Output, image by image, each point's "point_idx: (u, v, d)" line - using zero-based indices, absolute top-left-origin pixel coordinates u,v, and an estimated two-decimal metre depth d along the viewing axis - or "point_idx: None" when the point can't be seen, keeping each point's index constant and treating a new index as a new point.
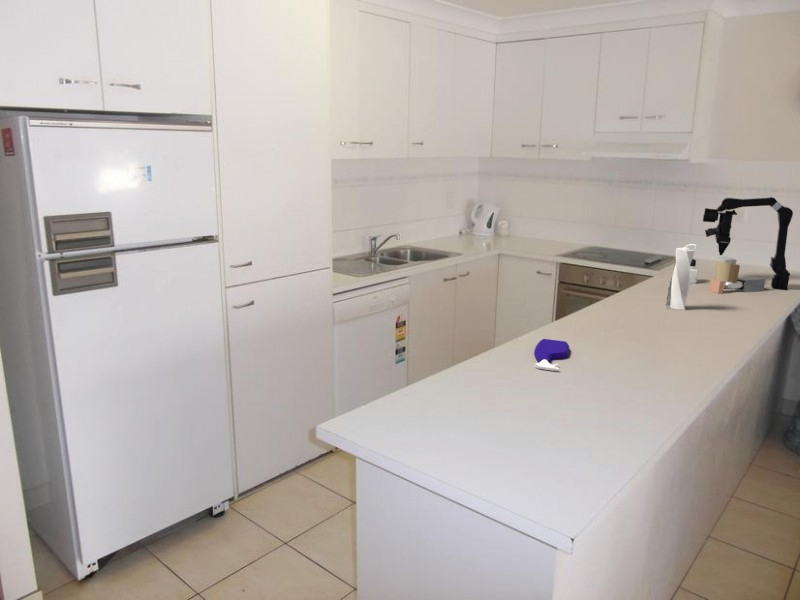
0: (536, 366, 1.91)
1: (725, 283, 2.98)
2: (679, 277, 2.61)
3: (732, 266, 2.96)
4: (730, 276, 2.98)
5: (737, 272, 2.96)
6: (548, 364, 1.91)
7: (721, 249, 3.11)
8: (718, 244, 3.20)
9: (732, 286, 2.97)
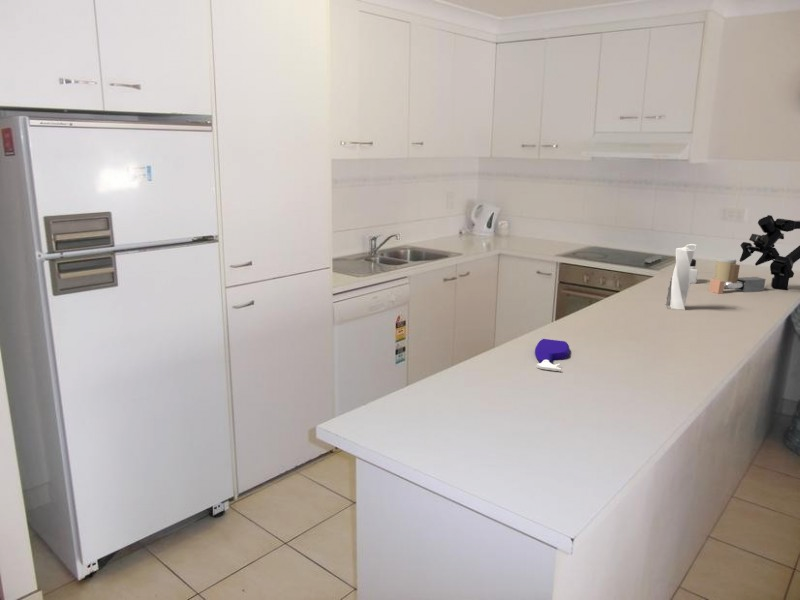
0: (538, 366, 1.91)
1: (725, 283, 2.98)
2: (679, 277, 2.61)
3: (732, 266, 2.96)
4: (730, 276, 2.98)
5: (737, 272, 2.96)
6: (550, 364, 1.91)
7: (761, 260, 2.94)
8: (744, 253, 3.03)
9: (732, 286, 2.97)
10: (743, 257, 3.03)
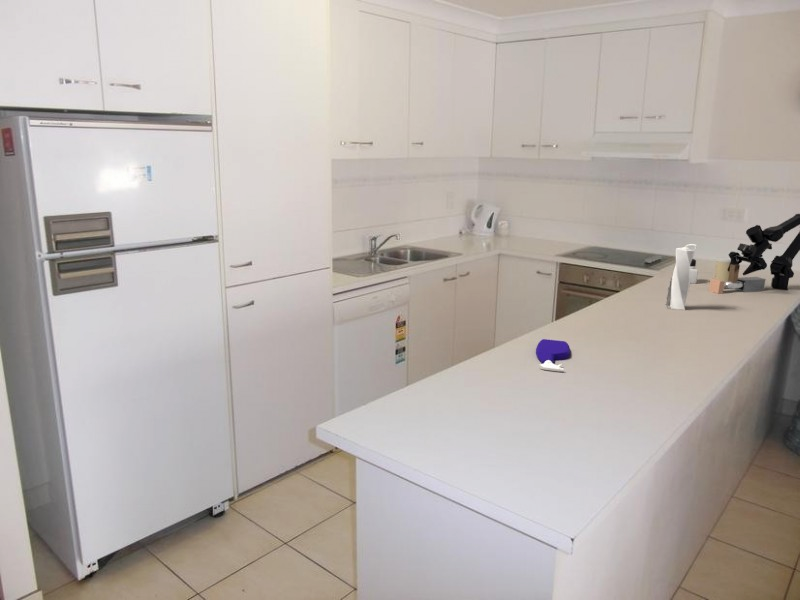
0: (541, 367, 1.90)
1: (725, 283, 2.98)
2: (679, 277, 2.61)
3: (732, 266, 2.96)
4: (730, 276, 2.98)
5: (737, 272, 2.96)
6: (553, 365, 1.90)
7: (749, 270, 2.93)
8: (732, 263, 3.02)
9: (732, 286, 2.97)
10: None
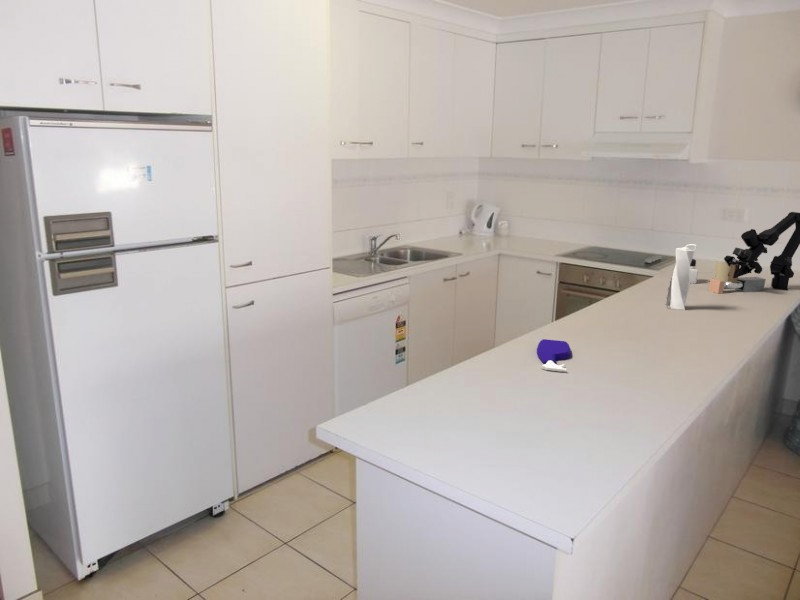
0: (543, 367, 1.90)
1: (725, 283, 2.98)
2: (679, 277, 2.61)
3: (732, 266, 2.96)
4: (730, 276, 2.98)
5: None
6: (555, 365, 1.90)
7: (739, 273, 2.95)
8: None
9: (732, 286, 2.97)
10: None
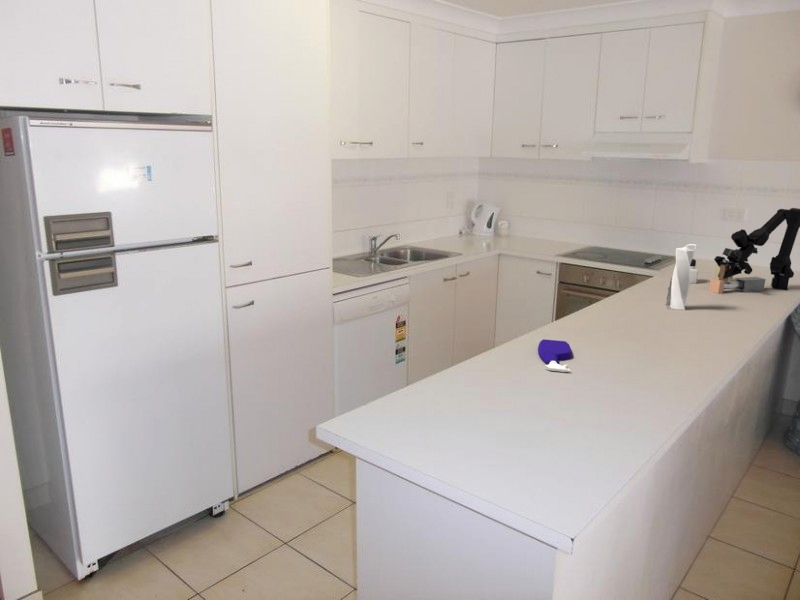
0: (547, 368, 1.90)
1: None
2: (679, 277, 2.61)
3: (722, 266, 2.95)
4: (720, 276, 2.96)
5: None
6: (558, 365, 1.90)
7: (729, 274, 2.94)
8: None
9: None
10: None
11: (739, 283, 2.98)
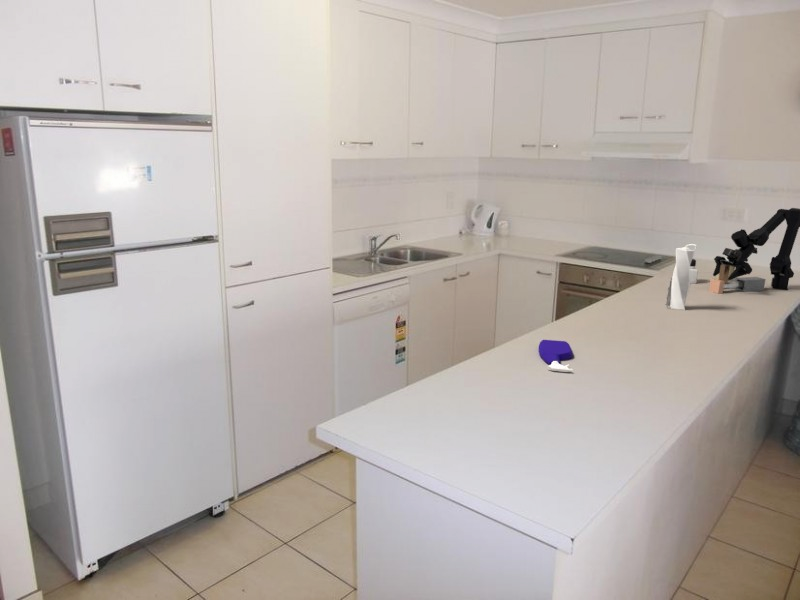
0: (549, 368, 1.89)
1: None
2: (679, 277, 2.61)
3: (722, 266, 2.95)
4: (720, 276, 2.96)
5: (727, 273, 2.95)
6: (561, 366, 1.90)
7: (734, 275, 2.91)
8: (717, 267, 3.00)
9: None
10: (716, 271, 3.00)
11: (739, 283, 2.98)
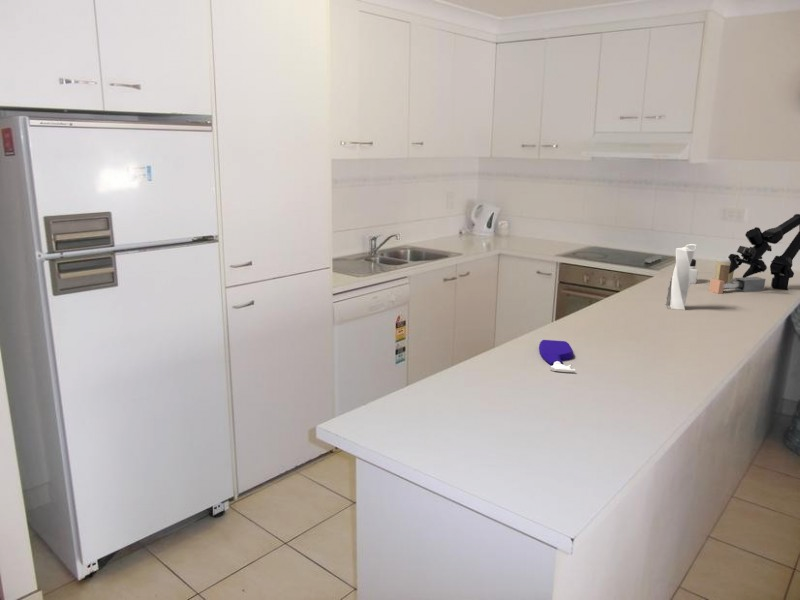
0: (552, 369, 1.89)
1: None
2: (679, 277, 2.61)
3: (722, 266, 2.95)
4: (720, 276, 2.96)
5: (727, 273, 2.95)
6: (563, 366, 1.89)
7: (748, 273, 2.93)
8: (732, 265, 3.02)
9: None
10: (731, 269, 3.02)
11: (739, 283, 2.98)
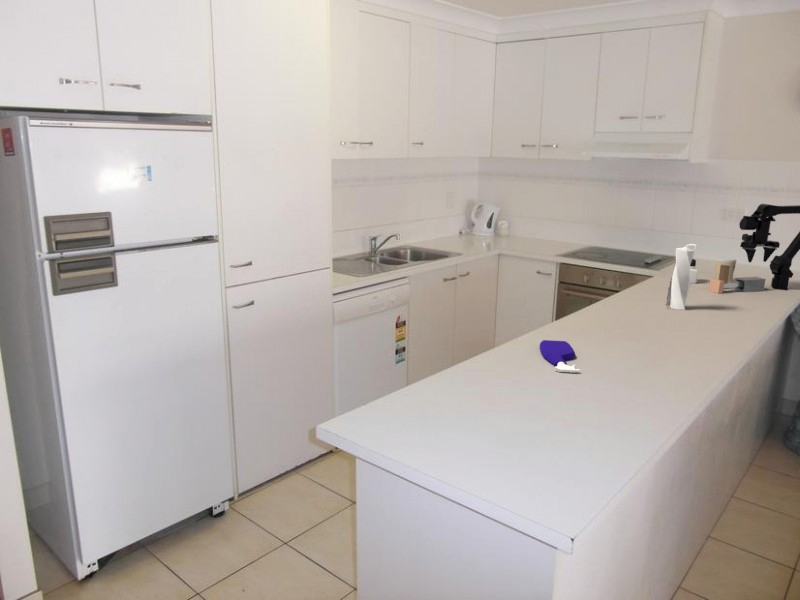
0: (556, 369, 1.89)
1: None
2: (679, 277, 2.61)
3: (722, 266, 2.95)
4: (720, 276, 2.96)
5: (727, 273, 2.95)
6: (568, 366, 1.89)
7: (749, 256, 3.02)
8: (764, 253, 3.06)
9: None
10: (765, 256, 3.06)
11: (739, 283, 2.98)
